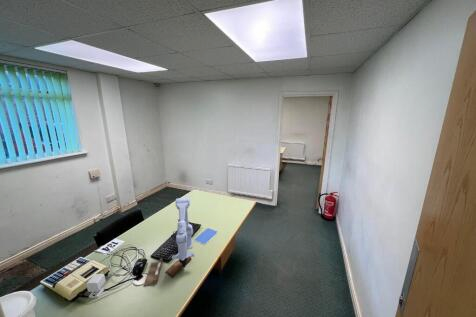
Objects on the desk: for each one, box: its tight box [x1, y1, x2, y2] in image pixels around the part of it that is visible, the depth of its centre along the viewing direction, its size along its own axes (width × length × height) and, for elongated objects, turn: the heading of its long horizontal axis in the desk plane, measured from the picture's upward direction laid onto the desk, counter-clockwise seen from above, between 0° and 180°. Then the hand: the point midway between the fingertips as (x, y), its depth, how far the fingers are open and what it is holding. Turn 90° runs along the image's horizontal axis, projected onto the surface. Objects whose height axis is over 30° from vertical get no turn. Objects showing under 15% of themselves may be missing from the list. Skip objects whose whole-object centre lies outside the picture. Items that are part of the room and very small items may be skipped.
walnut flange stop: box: [143, 258, 164, 287], centre depth 123 cm, size 18×8×4 cm, turn 10°
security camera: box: [85, 273, 107, 299], centre depth 110 cm, size 6×7×10 cm
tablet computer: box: [193, 227, 219, 246], centre depth 161 cm, size 19×13×1 cm, turn 151°
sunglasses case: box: [164, 257, 192, 279], centre depth 129 cm, size 18×7×7 cm
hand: (184, 266), depth 127 cm, fingers closed
